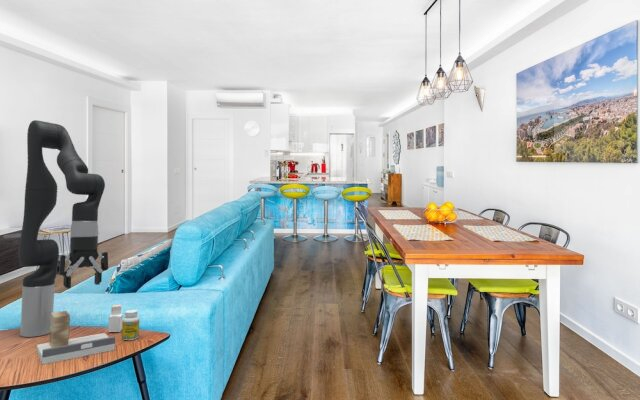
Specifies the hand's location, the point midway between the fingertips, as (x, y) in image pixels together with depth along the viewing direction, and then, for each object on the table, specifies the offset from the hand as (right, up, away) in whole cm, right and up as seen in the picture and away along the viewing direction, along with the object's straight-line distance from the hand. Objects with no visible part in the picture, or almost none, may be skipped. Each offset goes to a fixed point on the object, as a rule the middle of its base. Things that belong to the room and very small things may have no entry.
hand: (82, 286), depth 121 cm
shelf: (-2, -21, 0) cm, 21 cm away
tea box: (-6, -18, -2) cm, 20 cm away
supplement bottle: (+9, -21, +12) cm, 26 cm away
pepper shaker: (0, -21, +19) cm, 29 cm away
